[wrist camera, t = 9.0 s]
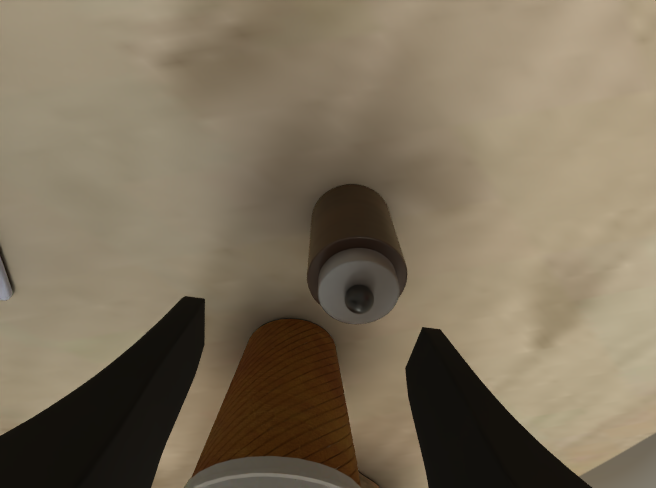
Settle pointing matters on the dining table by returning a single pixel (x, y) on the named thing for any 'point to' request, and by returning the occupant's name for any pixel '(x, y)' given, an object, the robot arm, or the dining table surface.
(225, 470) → the disposable coffee cup
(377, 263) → the pepper mill
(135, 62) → the dining table surface
